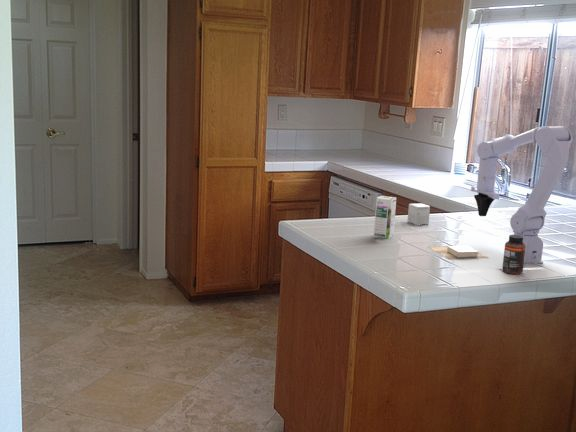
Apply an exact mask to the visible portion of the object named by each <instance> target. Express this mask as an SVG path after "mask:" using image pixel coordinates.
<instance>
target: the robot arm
mask: <svg viewBox="0 0 576 432" xmlns="http://www.w3.org/2000/svg"><path fill="white" fill-rule="evenodd" d="M501 136H502V137H498V138H491V140H490V141H481V142H480V143H479V144H478V146H477V147H476V148H477V149H476V153H477V156H478V157H479V164H478V173H477V174H478V175H477V183H476V185H471V186H470V187H471V189H470V192H472V193H473V192H474V193H477V194H474V195H473V196H474V200H475V201H476V202H475V203H476V206H477V212H478V213H477V214H478V216H479V217H486V216H487V214H488V212H489V209H490V207H491V206H492V203H493V202H494V201H495V200H500V193H499V192H497V191H495V186H496V185H495V183H496V178H497V177H496V175H497V168H498V167H497V165H498V163H499V159H500V157H501V156H505V155H506V154H510V153H513V152H515V151H517V148H518V147H520V146H523V145H526V144H530V143H531V144H532V143H534V144H535V143H536V144H537V146H538V147H539V150H541V152H542V154H543V155H544V156H545V157H546V159H547V160H546V162H545V164H544V166H543V168H542V170H541V173H540V174H539V176H538V179H537V181H536V182H535V184H534V187H533V189H532V191H530V194H529V196H528V199H527V200H526V202H525V203H524V204H523V205H521V206H519V208H518V209H517V210H516V212H515V213H514V214H513V215H511V217H510V220H509V221H510V222H509V224H510V227H511V229H512V233H513V235H520V236H523V241H522V242H523V243H524V244H525V256H524V264H526V263H527V264H529V263H530V264H531V263H532V264H533V263H537V264H543V263H544V261H543V260H542V257H543V249H544V242H543V240H542V238H540V237H539V233H540V230H541V229H543V227H544V226H545V219H546V216H547V212H546V210H545V207H546V205H547V203H548V201H549V199H550V197H551V195H552V194H553V192H554V189H555V187H556V185H557V184H558V182H559V179H560V177H561V176H562V174H563V172H564V169H565V168H566V166H567V164H568V163H569V159H570V158H569V157H570V148H571V147H570V146H571V144H572V143H573V141H574V137H573V135H572V133H571V130H570V129H569V127H567V126H566V125H560V126H547V125H546V126H545V125H543V126H540V127H534V128H532V129H530V130H527V131H525V132H523V133H520V134H518V135H515V136H514V135H512V134H508V133H504V134H502V135H501Z"/></svg>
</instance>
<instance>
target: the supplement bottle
mask: <svg viewBox="0 0 576 432" xmlns="http://www.w3.org/2000/svg"><path fill="white" fill-rule="evenodd" d="M522 241H523V236H520V235H514V234H509V236H508V241H506V242H505V244H504V249H503V257H502V258H503V259H502V267H501V269H502V271H503V272H504V273H506V274H510V275H521V274H522V273H523V272H524V271H523V270H524V264H525V263H524V256H525V244H524V243H523V242H522Z"/></svg>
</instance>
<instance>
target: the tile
mask: <svg viewBox="0 0 576 432" xmlns="http://www.w3.org/2000/svg"><path fill="white" fill-rule="evenodd" d="M447 246H448V247H447V252H448V253H450V254H452V255H453V256H455V257H457V258H471V257H477V255H478V253H479V251H478V250H477V249H474V248H472V247H470V246H468V245H465V246H461V245H447Z"/></svg>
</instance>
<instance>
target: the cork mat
mask: <svg viewBox="0 0 576 432" xmlns="http://www.w3.org/2000/svg"><path fill="white" fill-rule="evenodd" d="M448 246H449V245H439V246H428V248H429V249H431V250H432V251H434V252H436V253H437V254H439V255H441V256H443V257H444V258H446V259H448V260H470V259H471V260H472V259H473V260H474V259H475V260H476V259H489V257H488V256H486V255H484V254H482V253H480V252H478V255H477V257H471V258H457V257H455V256H453V255H452V254H450V253H448V252H447V247H448ZM460 246H466V245H463V244H461V245H460Z"/></svg>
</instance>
